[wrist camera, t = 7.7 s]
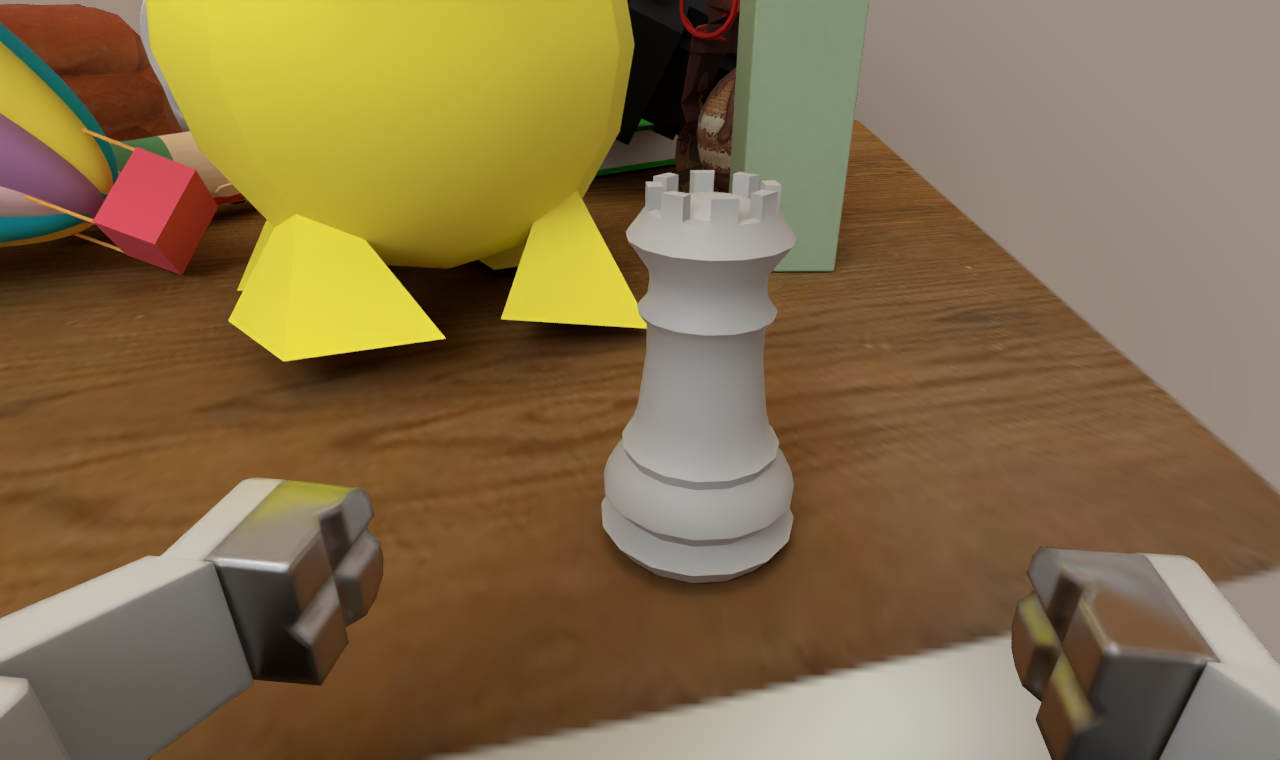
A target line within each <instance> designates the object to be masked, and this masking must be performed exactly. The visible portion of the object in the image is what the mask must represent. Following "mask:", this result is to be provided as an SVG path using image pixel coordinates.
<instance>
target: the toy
mask: <svg viewBox="0 0 1280 760" xmlns="http://www.w3.org/2000/svg"><path fill="white" fill-rule="evenodd" d="M627 3H628V9H629V14H630V20H631V26H632V32H633V38H634V44H635V46H634V51H633V57H632V63H631V69H630V75H629V81H628V86H627V92H626V98H625V104H624V110H623V116H622V122H621V127H620V132H619V134H618V136H617V137H616V139H615V140H618V141H620V142H622V143H624V144H626V145H629V143H630V141H631V139H632V137H633V135H634V133H635V131H636V129H637V127H638V125H639V123H640V121H641V119H643V120H645V121H648V122H650V123H652V124H653V129H652V131H653V132H655V133H658V134H660V135H662V136H664V137H666V138H669V139H671V140H674V138H675V136H676V135H678V136H679V134H680V133H681V131H682V129H683V127H684V125H685V124H686V119H685V116H684V112H683V108H682V105H681V102H682V97H683V92H684V86H685V80H686V73H687V67H688V60H689V54H690V47H691V37H692V34H691V33H690V32H689V31H688V30H686V28H685V26H684V24H683V22H682V20H681V15H680V9H679V8H680V0H627ZM683 13H684V15H685V16H686V17H687V18H688V19H689V21H690V22H691V24H692V26H693V27H694V29H695V28H696V27H697V26H699V25H704V24H708V12H707V0H685V1H684V6H683ZM736 24H739V22H737V23H736ZM736 66H737V56H736V54H735V53H728V54H724V56H723V59H722V62H721V64H720V67H719V70H718V72H717V75H716V78H715V81H714V83H713V86H712V88H711V89H710V90H709V91H708V92H707V94H706V95H705V96H704V97H703V98H702V99H701V101H702V104H703V105H704V103H705V101H706V100H707V98H708V96H709V94H710V92H711V91H712V90H713V88H714V87H715V86H716V85H717V84H718V82H719V81H720V80H721V79H722V78H723V77H724V76H726V75H727V74H728V73H729V72H731V71H732V70H733V69H735V68H736Z"/></svg>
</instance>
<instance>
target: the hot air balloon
mask: <svg viewBox="0 0 1280 760" xmlns="http://www.w3.org/2000/svg"><path fill="white" fill-rule="evenodd" d="M109 142H110V143H113V144H115V145H118V146H120V147H123V148H126V149H128V150H131V151H133V153H132V155H131V156H130V158H129V160H128V162H127V163H126V165H125V167H124V168H123V170H122V172H120V171H119V170H118V166H117V162H116V158H115V156H114V153H113V150H112V148H111V145H110V143H109ZM217 209H218V206H217V204H216V202H215V201H214V199H213V197H212V196H211V194H210V192H209V191H208V189H207V187H206V186H205V184H204V182H203V181H202V179H201V177H200V176H199V174H198V172H197V171H196V169H193V168H190V167H188V166H185V165H183V164H180V163H178V162H175V161H172V160H170V159H167V158H165V157H162V156H159V155H157V154H154V153H152V152H149V151H147V150H144V149H141V148H139V147H136V148H134V147H131V146H128V145H126V144H123V143H121V142H118V141H116V140H113V139H110V138H108V137H106V135H105V134H104V132H103V130H102V129H101V127H100V125H99V124H98V122H97V121H96V120H95V118H94V117H93V115H92V114H91V113H90V111H89V110H88V109H87V107H86V106H85V105H84V104H83V103H82V101H81V100H80V99H79V98H78V97H77V95H76V94H75V93H74V92H73V91H72V90H71V89H70V88H69V86H68V85H67V84H66V83H65V82H64V81H63V80H62V79H61V78H60V77H59V76H58V75H57V74H56V73H55V72H54V71H53V70H52V69H51V68H50V67H49V66H48V65H47V64H46V63H45V62H44V61H43V60H42V59H41V58H40V57H39V56H38V55H37V54H35V53H34V52H33V51H32V50H31V49H30V48H29V47H28V46H27V45H26V44H25V43H23V42H22V41H21V40H20V39H19V38H18V37H17V36H15V35H14V34H13V33H12V32H11V31H10V30H9V29H7V28H6V27H5V26H4V25H3V24H2V23H0V247H8V246H17V245H26V244H34V243H40V242H46V241H51V240H56V239H60V238H64V237H67V236H70V235H75V236H78V237H80V238H83V239H86V240H89V241H92V242H94V243H97V244H100V245H103V246H105V247H108V248H111V249H114V250H117V251H119V252H122V253H125V254H126V255H127V256H130V257H133V258H136V259H138V260H141V261H144V262H147V263H149V264H152V265H155V266H158V267H161V268H163V269H166V270H169V271H172V272H175V273H177V274H180V275H183V273H184V271H185V269H186V267H187V265H188V263H189V261H190V260H191V258H192V256H193V254H194V252H195V250H196V248H197V246H198V245H199V243H200V241H201V239H202V237H203V235H204V233H205V231H206V229H207V228H208V226H209V224H210V222H211V220H212V218H213V216H214V214H215V212H216V211H217ZM93 225H96V226H97V227H98V228H99V229H100V230H101V231H102V232H103V233H104V234H106V235H107V236H108V237H109V238H110V239H111V240H112V241H113V242H114V243H115V244H116V245H117V246H118V247H116V246H113V245H111V244H108V243H105V242H102V241H99V240H97V239H94V238H91V237H88V236H86V235H83V234H80V233H78V232H81V231H83V230H85V229H87V228H89V227H91V226H93Z"/></svg>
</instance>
